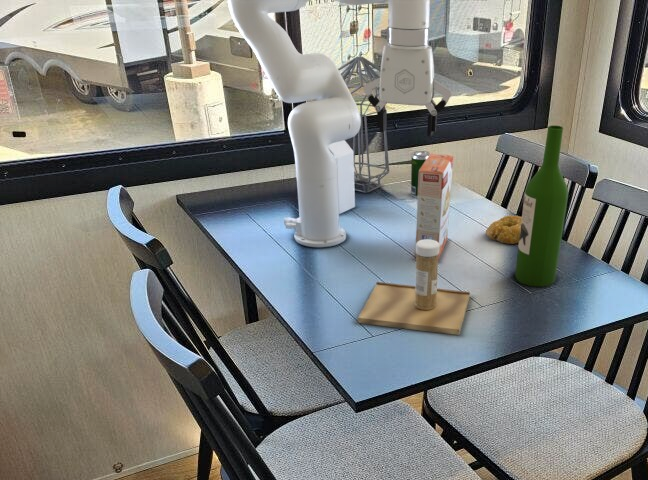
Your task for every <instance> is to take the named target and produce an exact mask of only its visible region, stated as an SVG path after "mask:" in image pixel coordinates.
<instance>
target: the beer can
mask: <svg viewBox="0 0 648 480" xmlns="http://www.w3.org/2000/svg"><path fill="white" fill-rule="evenodd" d="M430 154H431V153H430V151H426V150H414V151H413V152H412V155H411V167H410V171H411V172H410V195H411V197H412V198H415V199H418V177H419V170H420V168H421V167H422V165H423V164H424V162H425V161H426V159H427V158H428V156H429V155H430Z"/></svg>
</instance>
